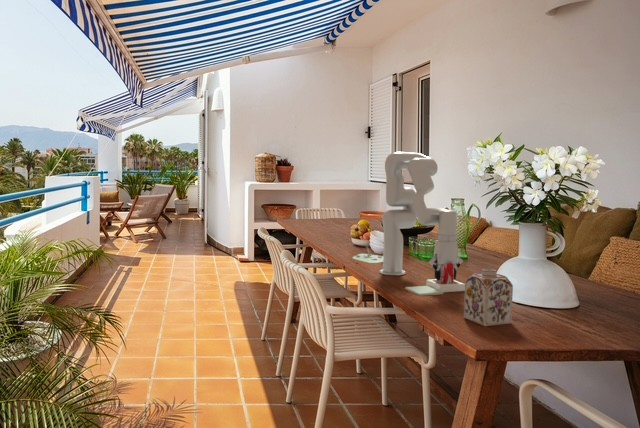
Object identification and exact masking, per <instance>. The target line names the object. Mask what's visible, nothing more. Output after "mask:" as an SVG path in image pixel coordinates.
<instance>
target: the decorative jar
mask: <svg viewBox="0 0 640 428" xmlns="http://www.w3.org/2000/svg"><path fill="white" fill-rule="evenodd" d="M471 274H472V273H471ZM464 284H465V291H464V299H463V300H464V301H463V318H464V319H466V320H468V321H470V322H473V323H475V324H478V325H480V326H483V327H493V326H502V325H508V324H511V323H512V317H513V315H512V314H513V296H514V295H513V294H514V293H513V292H514V290H513V289H514V285H513V283H512V282H511V281H510V279H509V278H508V276H506V275H504V274H500V273H497V270H496V269H494V268H483V269H481V272H474V273H473V274H472V275H470V276H469V277H468V278H467V279H466V280H465V283H464Z"/></svg>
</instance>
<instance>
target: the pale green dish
mask: <svg viewBox="0 0 640 428" xmlns="http://www.w3.org/2000/svg"><path fill="white" fill-rule="evenodd" d="M368 245H369V246H368ZM364 247H365V248H364V249H363V250H362V252H366V253H359V254H356V255H354V256H352V259H354V260H356V261H359V262H364V263H369V264H379V263H383V255H377V254H374V252H373V250H372V248H370V247H371V246H370V244H367V245H364Z"/></svg>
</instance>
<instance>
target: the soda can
mask: <svg viewBox="0 0 640 428" xmlns="http://www.w3.org/2000/svg"><path fill="white" fill-rule="evenodd" d="M439 271H440V280H437V283H439V284H454V280H455V279H454V264H453V262H445V264H443V265H441V267H440V269H439Z"/></svg>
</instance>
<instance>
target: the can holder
mask: <svg viewBox="0 0 640 428" xmlns="http://www.w3.org/2000/svg"><path fill="white" fill-rule="evenodd" d="M425 281H426V282H425V286H430V287H432V288H434V289H436V290H439V291H441V292H443V293H450V292H451V293H453V292H454V293H455V292H465V283H463V282H461V281H458V280H456V279H454V284H439V283H437V279H435V278H434V279H433V278H432V279H426V280H425Z"/></svg>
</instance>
